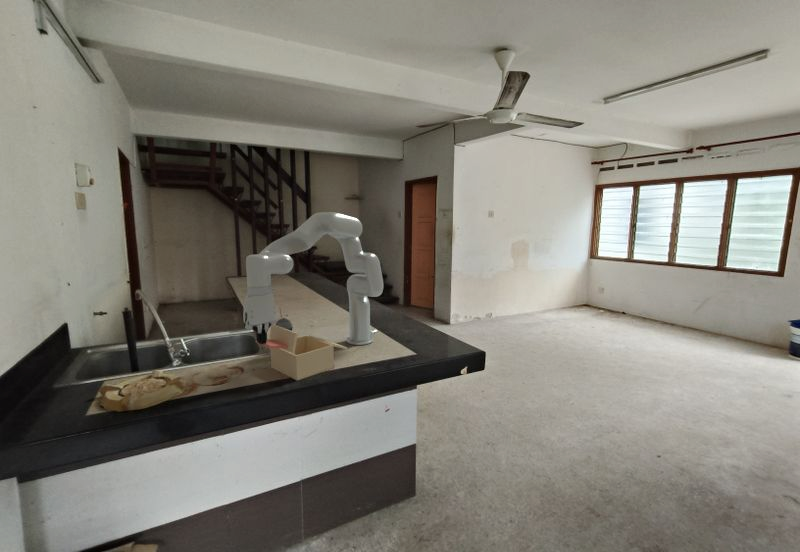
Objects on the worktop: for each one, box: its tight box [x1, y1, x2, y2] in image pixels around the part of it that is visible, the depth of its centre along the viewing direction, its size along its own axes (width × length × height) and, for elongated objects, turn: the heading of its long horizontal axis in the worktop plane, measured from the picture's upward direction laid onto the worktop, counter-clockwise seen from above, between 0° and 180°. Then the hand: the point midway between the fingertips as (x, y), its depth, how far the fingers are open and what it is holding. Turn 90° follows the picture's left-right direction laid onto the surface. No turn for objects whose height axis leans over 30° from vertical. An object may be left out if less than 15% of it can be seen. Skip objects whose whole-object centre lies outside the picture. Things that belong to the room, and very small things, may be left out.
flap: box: [255, 324, 298, 353], centre depth 133 cm, size 7×17×8 cm
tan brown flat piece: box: [98, 369, 188, 412], centre depth 121 cm, size 24×24×5 cm
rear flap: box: [308, 335, 348, 350], centre depth 151 cm, size 7×17×1 cm, turn 47°
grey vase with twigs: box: [274, 307, 293, 331], centre depth 156 cm, size 7×7×20 cm
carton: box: [269, 335, 335, 381], centre depth 143 cm, size 16×18×9 cm
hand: (262, 342), depth 130 cm, fingers closed
